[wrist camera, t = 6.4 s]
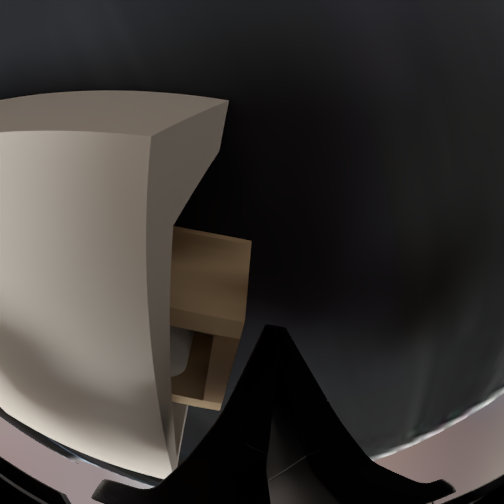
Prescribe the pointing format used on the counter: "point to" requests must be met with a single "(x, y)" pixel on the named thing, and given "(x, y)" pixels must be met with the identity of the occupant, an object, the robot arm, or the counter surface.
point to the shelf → (97, 264)
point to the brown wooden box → (205, 313)
